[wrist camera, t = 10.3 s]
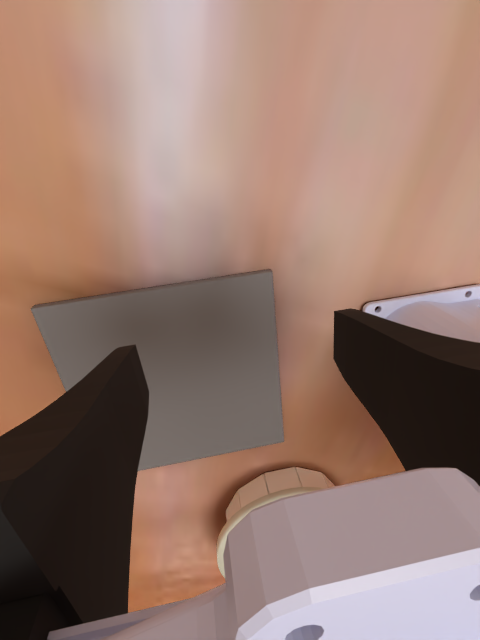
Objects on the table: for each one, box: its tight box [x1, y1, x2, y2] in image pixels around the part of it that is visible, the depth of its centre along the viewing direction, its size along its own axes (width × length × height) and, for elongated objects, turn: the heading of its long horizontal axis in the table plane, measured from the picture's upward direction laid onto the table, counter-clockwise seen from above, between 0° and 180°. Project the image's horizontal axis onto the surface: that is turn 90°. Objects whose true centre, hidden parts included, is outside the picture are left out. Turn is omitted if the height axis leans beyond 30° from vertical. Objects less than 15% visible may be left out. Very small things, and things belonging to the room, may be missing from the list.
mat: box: [31, 269, 284, 471], centre depth 24 cm, size 15×15×1 cm
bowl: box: [226, 467, 335, 521], centre depth 31 cm, size 11×11×3 cm
